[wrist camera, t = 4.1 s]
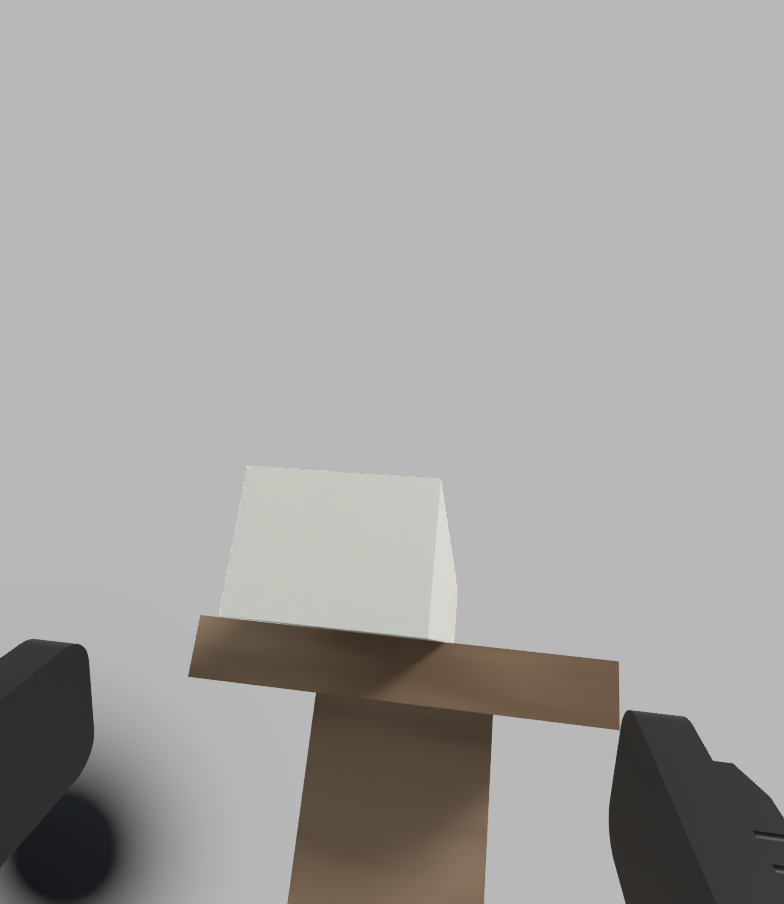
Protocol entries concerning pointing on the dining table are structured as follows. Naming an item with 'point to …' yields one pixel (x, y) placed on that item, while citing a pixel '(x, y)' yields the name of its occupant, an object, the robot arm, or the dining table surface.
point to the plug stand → (400, 748)
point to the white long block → (343, 554)
